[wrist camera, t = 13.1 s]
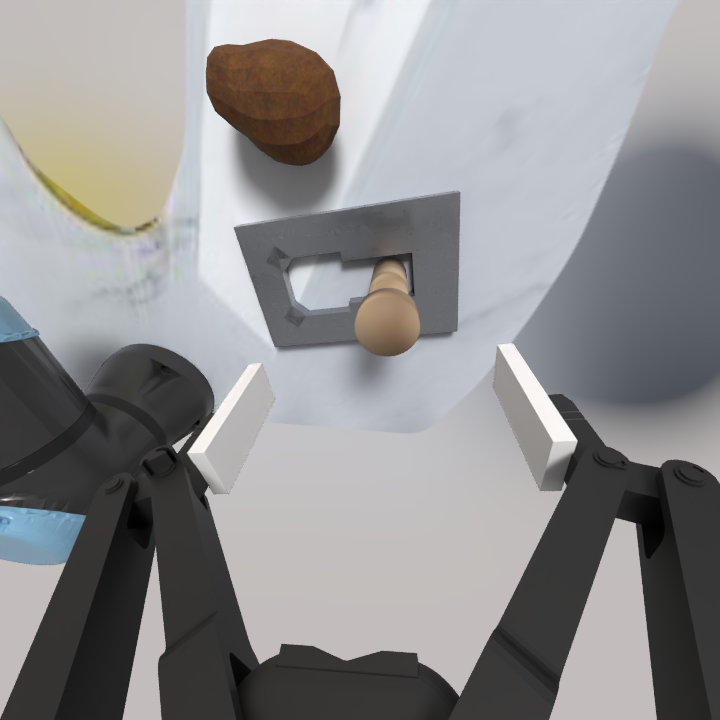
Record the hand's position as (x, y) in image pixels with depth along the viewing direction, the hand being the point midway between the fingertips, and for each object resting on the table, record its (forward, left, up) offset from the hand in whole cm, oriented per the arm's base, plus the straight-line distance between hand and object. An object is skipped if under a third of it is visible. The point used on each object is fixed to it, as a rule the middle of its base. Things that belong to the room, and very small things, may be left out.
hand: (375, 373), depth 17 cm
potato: (-7, +15, -19) cm, 25 cm away
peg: (0, 0, -19) cm, 19 cm away
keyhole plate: (-4, 0, -19) cm, 19 cm away
